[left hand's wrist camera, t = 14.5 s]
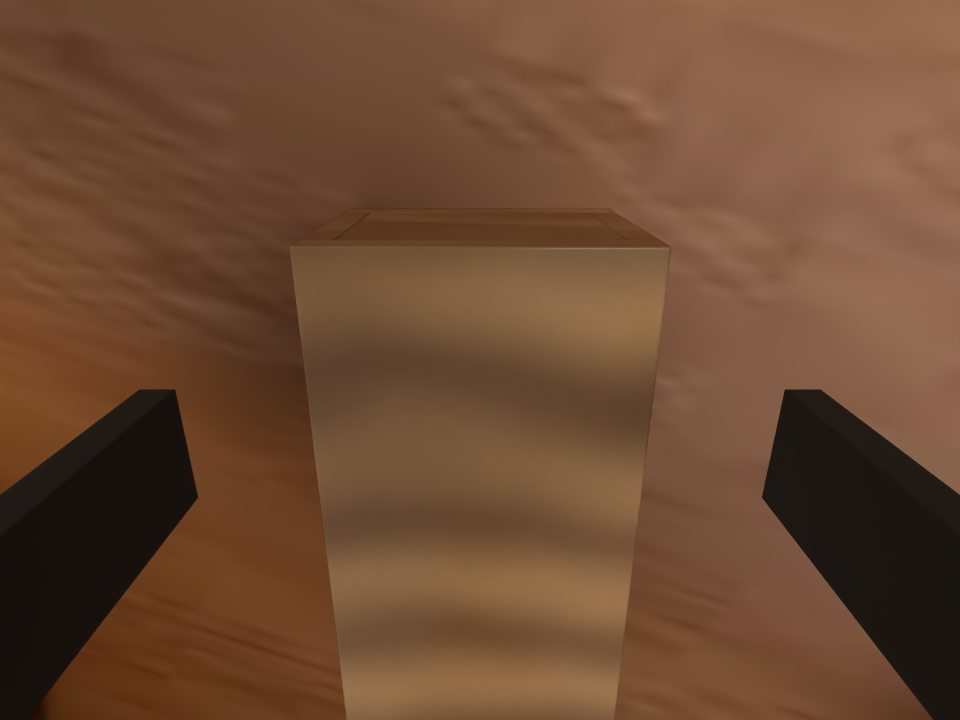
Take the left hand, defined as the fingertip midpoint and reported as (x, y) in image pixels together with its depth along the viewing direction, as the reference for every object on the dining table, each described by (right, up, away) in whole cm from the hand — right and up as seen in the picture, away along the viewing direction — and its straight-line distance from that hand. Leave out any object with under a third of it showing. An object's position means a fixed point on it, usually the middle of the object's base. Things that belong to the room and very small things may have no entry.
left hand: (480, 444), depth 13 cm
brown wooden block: (0, -1, +15) cm, 15 cm away
